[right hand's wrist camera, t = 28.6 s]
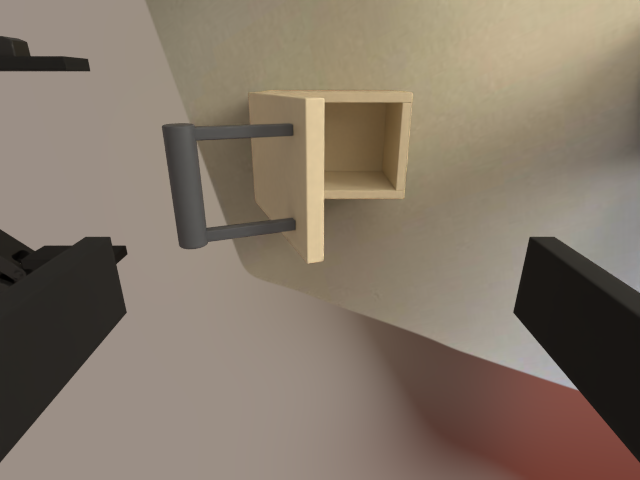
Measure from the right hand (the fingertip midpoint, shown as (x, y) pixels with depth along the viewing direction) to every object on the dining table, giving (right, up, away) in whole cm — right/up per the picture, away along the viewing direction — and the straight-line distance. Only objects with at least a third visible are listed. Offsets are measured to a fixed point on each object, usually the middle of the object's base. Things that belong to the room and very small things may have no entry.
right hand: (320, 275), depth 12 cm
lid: (-2, +7, +17) cm, 19 cm away
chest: (+1, +13, +33) cm, 36 cm away
